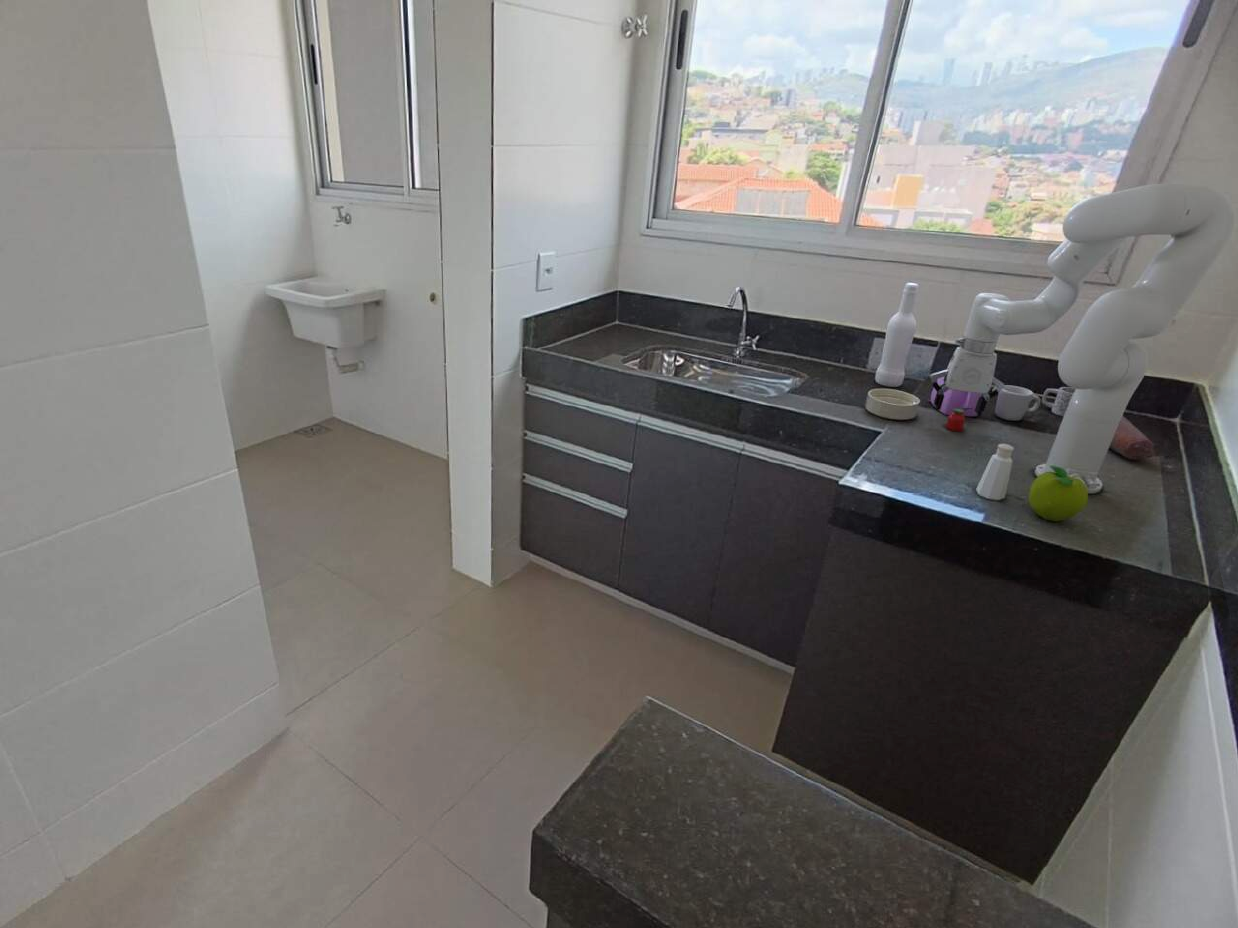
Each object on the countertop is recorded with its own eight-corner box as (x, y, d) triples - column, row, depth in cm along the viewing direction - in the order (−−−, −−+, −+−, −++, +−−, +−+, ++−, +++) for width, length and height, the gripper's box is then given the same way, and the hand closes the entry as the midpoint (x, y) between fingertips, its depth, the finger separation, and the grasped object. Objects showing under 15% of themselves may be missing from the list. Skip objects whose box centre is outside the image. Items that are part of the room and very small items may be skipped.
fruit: (1024, 522, 126) (1042, 475, 122) (1020, 501, 134) (1037, 457, 129) (1080, 535, 123) (1100, 487, 118) (1072, 513, 130) (1091, 468, 126)
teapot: (921, 396, 191) (930, 362, 187) (957, 398, 191) (967, 364, 187) (946, 419, 175) (957, 382, 170) (986, 421, 175) (998, 385, 170)
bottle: (883, 377, 206) (906, 280, 193) (907, 384, 200) (932, 285, 187) (868, 381, 201) (891, 282, 188) (893, 389, 196) (918, 287, 182)
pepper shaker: (977, 485, 139) (993, 438, 135) (1006, 493, 137) (1023, 445, 132) (973, 494, 135) (989, 446, 131) (1002, 503, 133) (1020, 454, 128)
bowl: (919, 424, 170) (924, 408, 169) (867, 417, 173) (871, 401, 171) (911, 407, 182) (915, 392, 180) (862, 401, 184) (866, 386, 182)
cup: (1026, 414, 182) (1036, 387, 178) (1040, 425, 175) (1050, 397, 171) (986, 411, 182) (995, 383, 179) (998, 421, 175) (1007, 393, 172)
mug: (1081, 414, 184) (1090, 392, 181) (1074, 419, 180) (1083, 396, 177) (1043, 404, 191) (1050, 382, 188) (1035, 408, 187) (1043, 386, 184)
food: (1067, 429, 173) (1079, 397, 169) (1102, 430, 174) (1115, 399, 170) (1124, 463, 154) (1139, 428, 150) (1163, 465, 154) (1179, 430, 151)
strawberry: (964, 432, 167) (969, 414, 165) (947, 429, 168) (952, 412, 166) (960, 426, 171) (965, 408, 169) (944, 424, 172) (949, 406, 169)
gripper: (943, 345, 158) (924, 411, 166) (1021, 354, 155) (997, 420, 163) (937, 337, 165) (919, 400, 173) (1011, 345, 162) (989, 410, 170)
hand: (957, 410), depth 168 cm, fingers open, 9 cm apart
